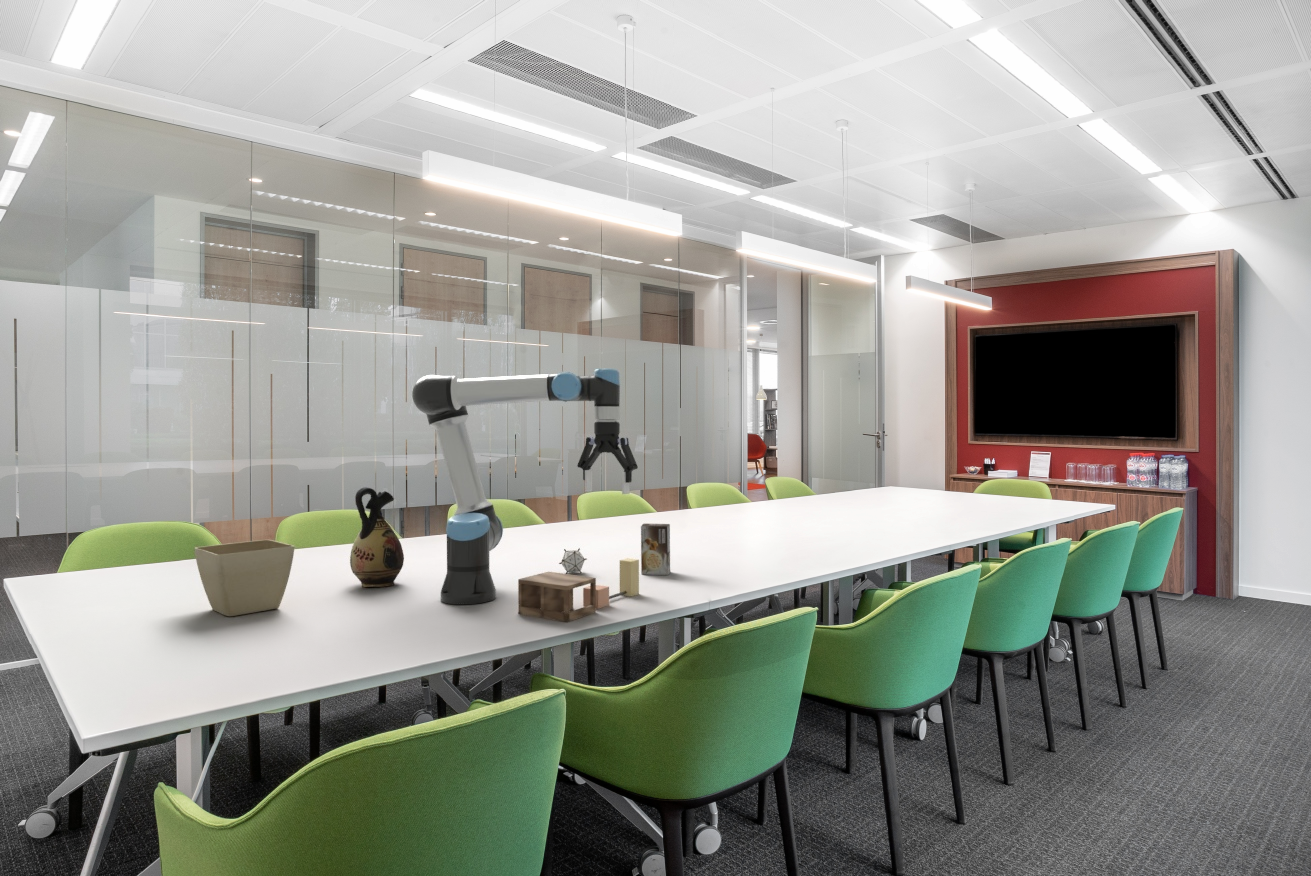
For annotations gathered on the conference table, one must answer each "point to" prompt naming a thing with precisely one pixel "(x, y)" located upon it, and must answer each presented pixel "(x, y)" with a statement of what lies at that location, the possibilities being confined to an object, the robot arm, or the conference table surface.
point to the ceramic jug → (375, 543)
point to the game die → (573, 561)
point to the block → (627, 584)
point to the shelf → (553, 596)
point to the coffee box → (655, 549)
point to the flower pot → (245, 575)
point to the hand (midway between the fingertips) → (606, 492)
